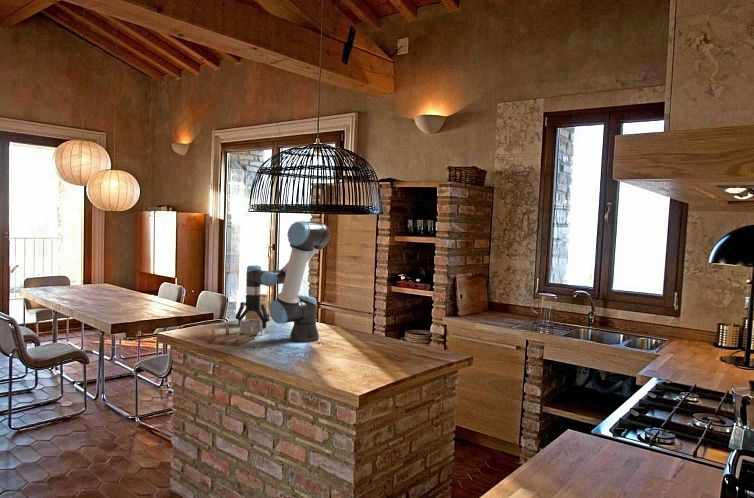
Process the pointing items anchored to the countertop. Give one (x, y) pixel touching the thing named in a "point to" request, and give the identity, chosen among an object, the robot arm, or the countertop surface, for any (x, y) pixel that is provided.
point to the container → (262, 301)
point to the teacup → (251, 323)
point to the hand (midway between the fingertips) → (251, 333)
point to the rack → (231, 338)
